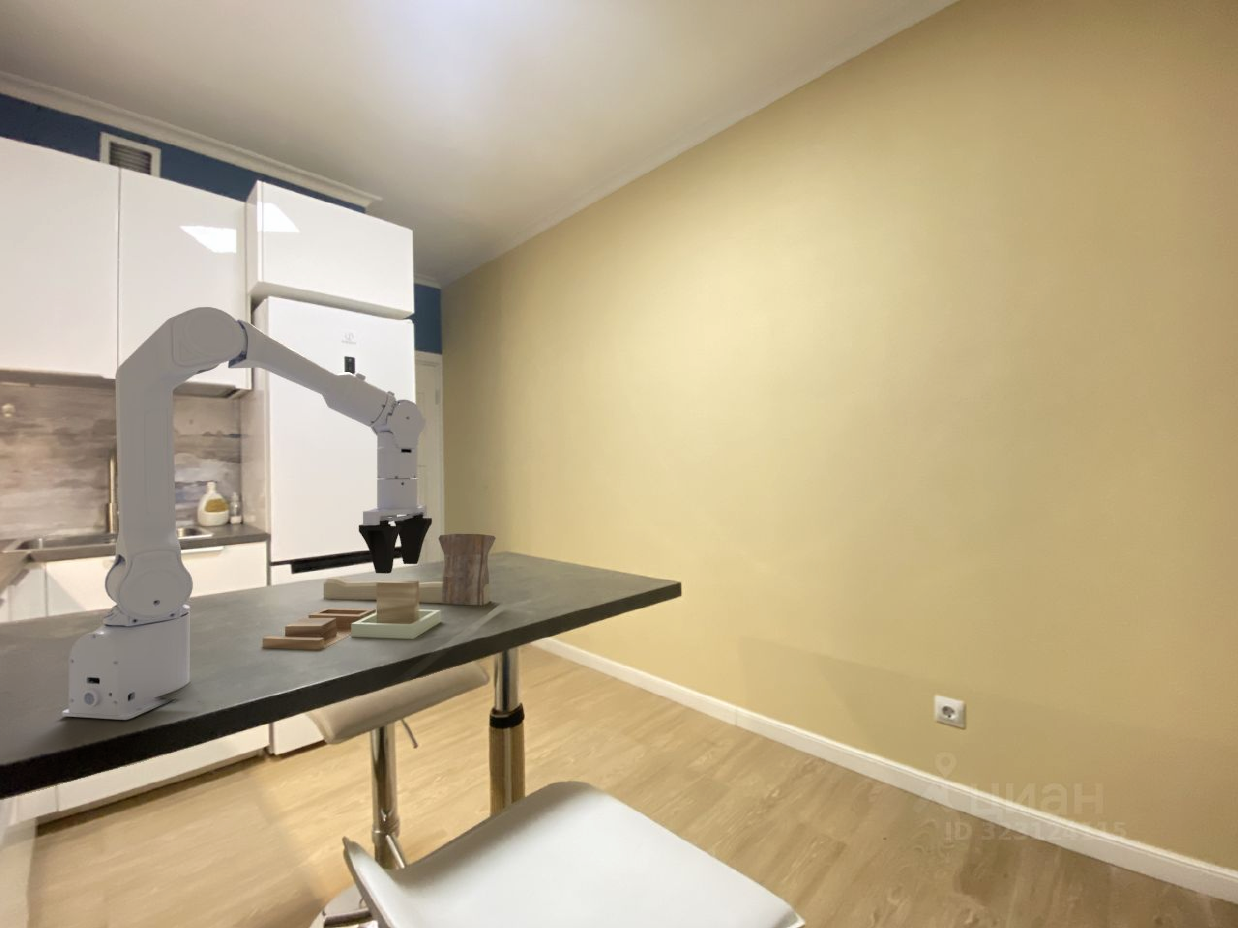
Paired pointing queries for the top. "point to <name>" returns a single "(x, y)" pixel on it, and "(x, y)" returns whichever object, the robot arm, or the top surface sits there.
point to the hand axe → (460, 575)
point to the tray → (395, 626)
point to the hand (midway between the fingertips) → (397, 568)
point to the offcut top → (310, 626)
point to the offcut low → (325, 635)
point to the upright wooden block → (397, 602)
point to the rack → (343, 630)
